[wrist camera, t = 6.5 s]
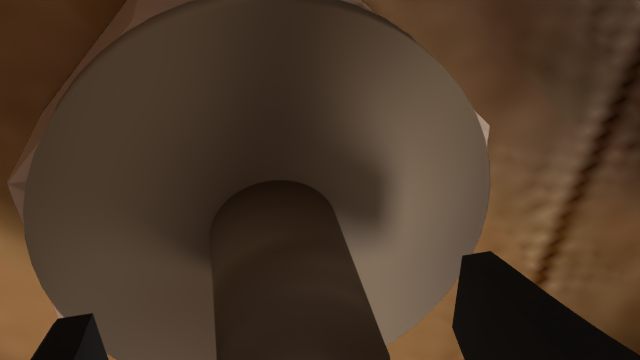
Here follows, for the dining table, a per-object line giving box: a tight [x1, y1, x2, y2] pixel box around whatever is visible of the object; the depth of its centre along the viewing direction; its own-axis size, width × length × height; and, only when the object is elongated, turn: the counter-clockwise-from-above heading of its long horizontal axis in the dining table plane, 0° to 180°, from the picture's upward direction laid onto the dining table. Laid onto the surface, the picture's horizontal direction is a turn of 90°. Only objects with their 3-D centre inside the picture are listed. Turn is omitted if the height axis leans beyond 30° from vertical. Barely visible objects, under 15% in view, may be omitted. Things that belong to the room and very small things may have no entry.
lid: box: [23, 0, 490, 360], centre depth 11 cm, size 10×10×5 cm
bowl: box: [7, 0, 490, 318], centre depth 15 cm, size 11×11×4 cm
